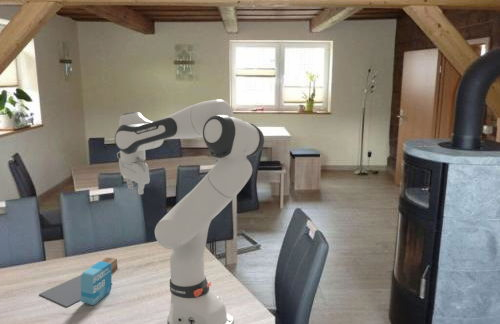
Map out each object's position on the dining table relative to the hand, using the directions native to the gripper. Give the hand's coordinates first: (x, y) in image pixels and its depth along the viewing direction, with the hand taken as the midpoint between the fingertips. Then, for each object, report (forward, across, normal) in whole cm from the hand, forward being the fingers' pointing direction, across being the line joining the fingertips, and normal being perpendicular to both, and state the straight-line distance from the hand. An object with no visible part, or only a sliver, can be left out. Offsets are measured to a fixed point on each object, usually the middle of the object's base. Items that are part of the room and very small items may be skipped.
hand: (135, 191), depth 159 cm
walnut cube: (+38, +18, +7) cm, 42 cm away
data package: (+37, -1, +18) cm, 41 cm away
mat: (+37, +10, +22) cm, 45 cm away
